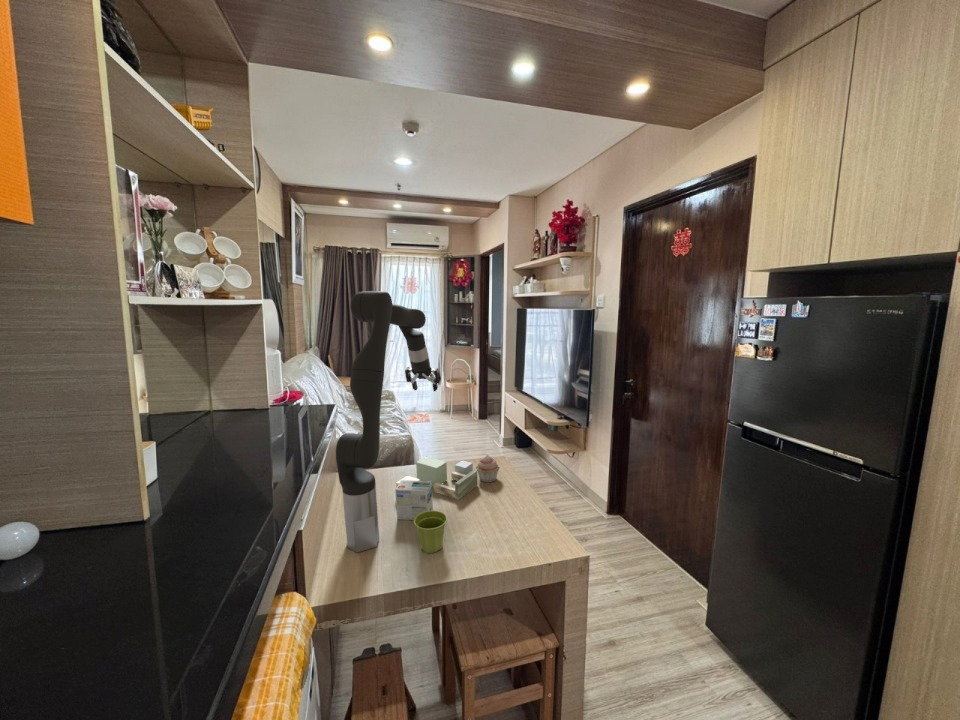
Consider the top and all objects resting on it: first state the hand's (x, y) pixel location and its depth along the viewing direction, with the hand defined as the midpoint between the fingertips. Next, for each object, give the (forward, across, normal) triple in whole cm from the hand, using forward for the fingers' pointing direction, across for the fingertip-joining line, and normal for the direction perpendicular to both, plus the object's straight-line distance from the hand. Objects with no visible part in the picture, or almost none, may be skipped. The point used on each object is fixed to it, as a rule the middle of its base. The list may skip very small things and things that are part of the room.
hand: (425, 389), depth 167 cm
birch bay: (+22, +19, -31) cm, 42 cm away
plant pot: (+10, +21, -63) cm, 67 cm away
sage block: (+23, +8, -28) cm, 37 cm away
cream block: (+19, +3, -39) cm, 44 cm away
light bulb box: (+15, +10, -49) cm, 52 cm away
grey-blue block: (+26, +19, -22) cm, 38 cm away
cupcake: (+25, +28, -22) cm, 44 cm away
